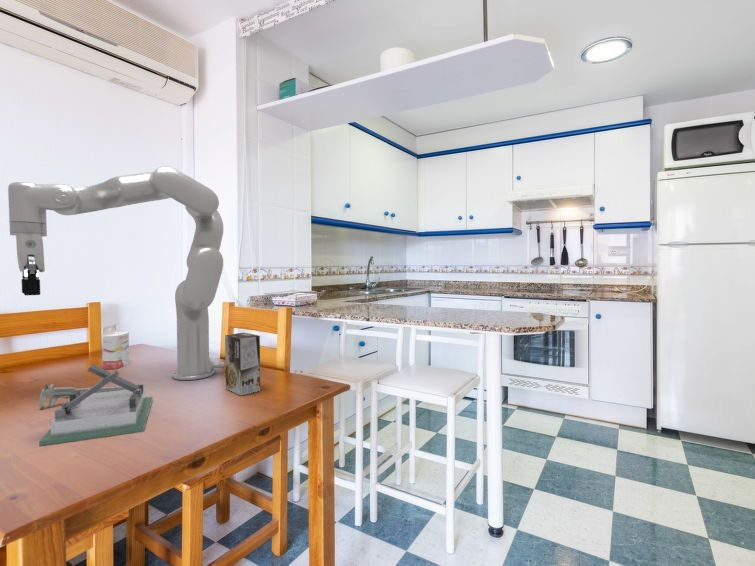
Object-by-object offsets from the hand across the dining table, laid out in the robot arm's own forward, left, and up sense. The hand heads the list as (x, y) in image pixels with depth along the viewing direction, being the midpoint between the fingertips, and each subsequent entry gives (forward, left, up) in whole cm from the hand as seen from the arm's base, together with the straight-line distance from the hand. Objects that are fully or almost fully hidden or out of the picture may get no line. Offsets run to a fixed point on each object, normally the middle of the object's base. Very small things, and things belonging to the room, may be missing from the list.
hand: (31, 294), depth 109 cm
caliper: (-13, +7, -29) cm, 32 cm away
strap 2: (-22, +22, -21) cm, 37 cm away
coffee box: (-52, +16, -28) cm, 62 cm away
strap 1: (-19, +31, -21) cm, 42 cm away
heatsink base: (-20, +27, -28) cm, 44 cm away
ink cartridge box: (-14, -31, -28) cm, 44 cm away
